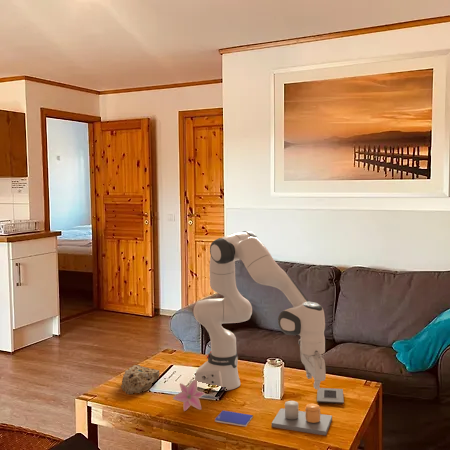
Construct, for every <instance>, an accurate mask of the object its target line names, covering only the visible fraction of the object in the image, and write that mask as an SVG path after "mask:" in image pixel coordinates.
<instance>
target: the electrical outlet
mask: <svg viewBox="0 0 450 450" xmlns="http://www.w3.org/2000/svg"><path fill="white" fill-rule="evenodd" d="M316 390H317V391H316V392H317V393H316V402H317V403H320V404H321V403H322V404H344V403H345V401H344V389H343V388H329V387H327V388H326V387H320V388H319V389H316Z"/></svg>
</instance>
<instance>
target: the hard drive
mask: <svg viewBox="0 0 450 450" xmlns="http://www.w3.org/2000/svg"><path fill="white" fill-rule="evenodd" d="M253 417H254V416H253V415H252V414H247V413H246V414H245V413H240V412H235V411H228V410H222V411H221V412H220V413H219V414H218V415H217V416H216V417H215V418H214V422H216V423H221V424H229V425H233V426H240V427H247V426H248V424H249V423H250V421H252V420H253Z"/></svg>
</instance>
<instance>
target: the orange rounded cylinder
mask: <svg viewBox="0 0 450 450" xmlns="http://www.w3.org/2000/svg"><path fill="white" fill-rule="evenodd" d="M304 412H306V420H307V421H308V422H312V423H316V422H319V421H320V414H321V408H320V405H319V404H316V403H308V404H306V405H305V411H304Z"/></svg>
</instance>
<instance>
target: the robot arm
mask: <svg viewBox="0 0 450 450" xmlns="http://www.w3.org/2000/svg"><path fill="white" fill-rule="evenodd" d="M209 254H210V257H209V286H210V289H211V290H213V292H215V293H217V294H219V295H221V296H222V297H221V298H205V299H202V300H198V301H197V302H196V303H195V305H194V306H193V316H194V319H195V320H196V322H197V323H199V324H201V325H202V326H203V327H204V328H205V330H206V331H207V333H208V335H209V339H210V349H211V350H210V351H209V353H208V354H207V355H206V358H205V359H206V360H207V361H205V362H204V363H203V364H202V365H200V366H199V367H198V368H197V369H196V371H195V376H194V377H195V379H196V380H197V381H198V382H202V383H206V384H210V385H217V386H221V387H226V389H227V390H226V391H231V390H234V389H237V388H239V387H240V386H241V380H240V377H239V372H238V371H239V370H238V365H239V364H238V361H239V360H238V359H239V357H238V352H237V338H236V335H235V334H234V333H233V332H232V331H231V330H229V329H226V328H224V327H223V326H222V324H236V323H237V324H238V323H243V322H246V321H249V320H250V319H251V316H252V314H253V306H252V303H251V302H250V301H249V299H247V298H245V297H244V296H243V295H242V294H241V293H240V291H239V289H238V287H237V281H236V280H237V279H236V262H238V261H241V262H242V263H243V265H244V267H245V269H246V271H247V272H248V275H250V277H251V278H252V279H253V281H254V282H255V283H256V284H259V285H262V286H268V287H273V288H276V289H278V290H279V291H281V292H282V293H283V294H284V295H285V297H286V299H287V300H288V301H289V303H291V305H292V307H290V308H287V309H284V310H283V311H281V312H280V313H279V315H278V318H277V324H278V328H279V329H280V331H281V332H282V333H283V334H285V335H288V336H299V337H300V339H298V346H299V353H300V355H299V356H300V361H301V363H302V365H303V366H304V368H305V373H306V379H308V380H311V379H313V380H314V382H313V388H314V389H315V390H317V389H319V388H321V387H320V385H321V382H323V381H325V380H326V376H327V373H326V372H327V371H326V363H325V361H326V360H325V359H324V358H323V357H322V355H323V354H325V353H326V338H325V330H326V317H325V311H324V308H323V306H322V305H321V304H319V303H318V302H313V301H310V300H309V299H308V298H307V297H306V296H305V294H304V293H303V292H302V290H301V289H300V287H299V286H298V285H297V284H296V282H295V281H294V280H293V278H292V277H291V276H290V275H289V273H288V272H286V271H285V270H284V269H282V267H281V266H279V264H278V263H277V262H276V261H275V259H274V258H273V256H272V255H271V253H270V252H269V250H268V249H267V247H266V246H265V244H263V242H262V241H261V240H260V239H259V238H258V236H257V235H256V234H255V232H253V231H249V230H248V231H247V230H244V231H241V232H235V233H231V234H228V235H225V236H223V237H218V238H217V239H215V240H213V241H212V242H211V244H210V246H209Z"/></svg>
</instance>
